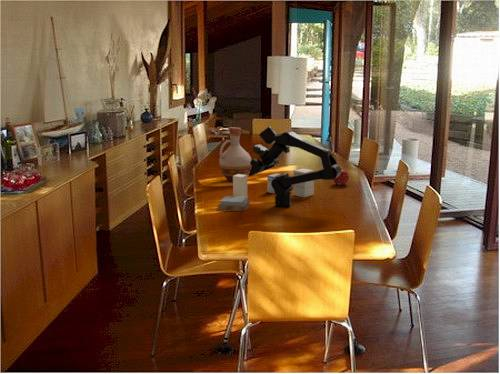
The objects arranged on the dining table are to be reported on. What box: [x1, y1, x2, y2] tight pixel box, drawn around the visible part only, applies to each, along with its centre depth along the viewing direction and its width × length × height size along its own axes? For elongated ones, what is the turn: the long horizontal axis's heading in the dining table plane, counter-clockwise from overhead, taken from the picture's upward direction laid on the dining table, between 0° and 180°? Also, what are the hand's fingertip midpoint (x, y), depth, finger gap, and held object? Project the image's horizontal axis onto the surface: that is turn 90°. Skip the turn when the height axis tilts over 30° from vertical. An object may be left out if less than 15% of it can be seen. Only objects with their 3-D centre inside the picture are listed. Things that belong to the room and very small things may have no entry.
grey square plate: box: [217, 199, 251, 212], centre depth 246 cm, size 12×12×2 cm
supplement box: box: [293, 168, 315, 198], centre depth 264 cm, size 7×7×13 cm
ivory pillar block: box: [232, 174, 248, 200], centre depth 257 cm, size 5×5×12 cm
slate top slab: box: [220, 195, 248, 206], centre depth 246 cm, size 10×10×2 cm
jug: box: [218, 126, 252, 184], centre depth 293 cm, size 20×18×30 cm
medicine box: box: [267, 172, 281, 194], centre depth 273 cm, size 8×4×9 cm, turn 141°
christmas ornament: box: [333, 166, 350, 186], centre depth 285 cm, size 9×9×10 cm
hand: (253, 173), depth 252 cm, fingers open, 9 cm apart
